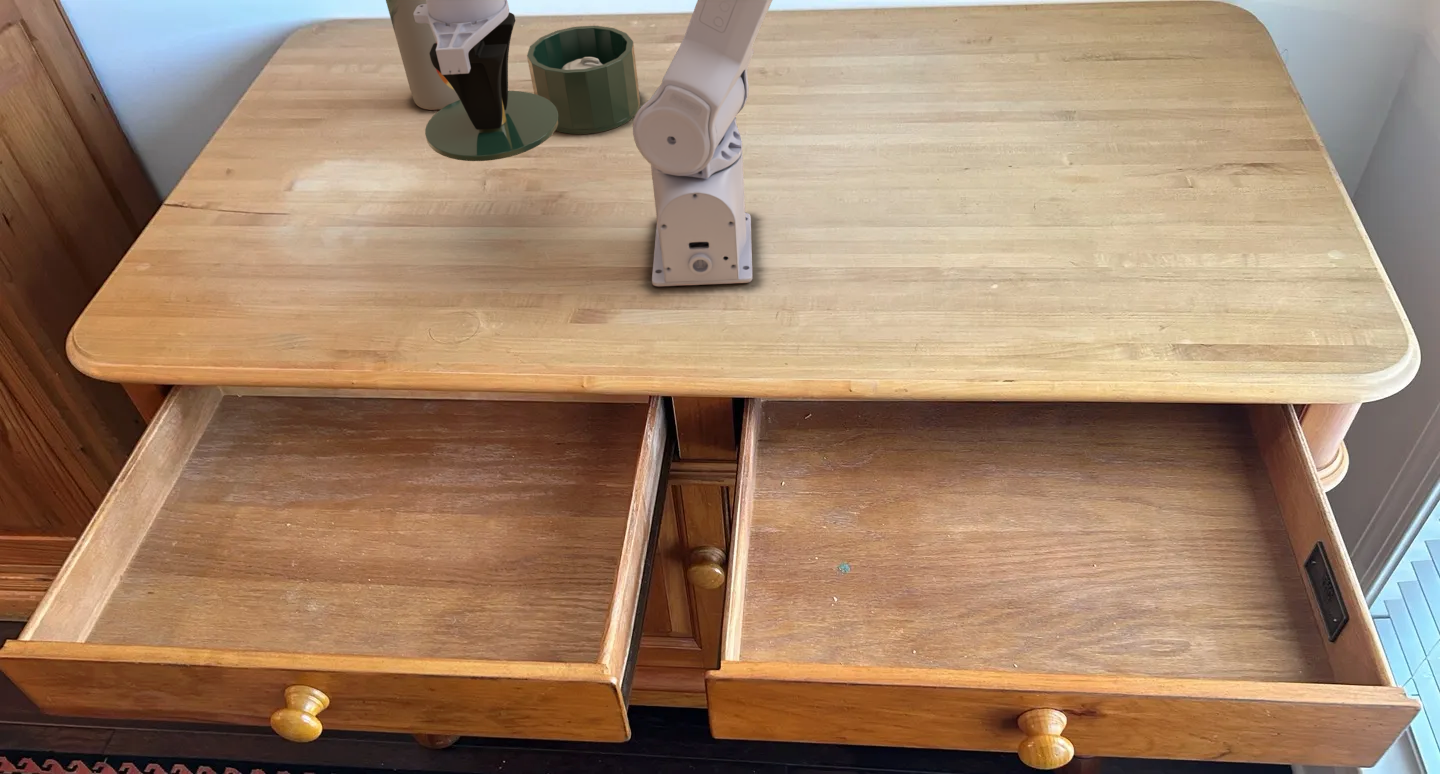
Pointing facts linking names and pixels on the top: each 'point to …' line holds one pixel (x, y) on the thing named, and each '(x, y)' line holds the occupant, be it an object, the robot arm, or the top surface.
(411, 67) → the spray bottle
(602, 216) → the top surface
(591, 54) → the pot
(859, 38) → the top surface
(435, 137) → the lid
